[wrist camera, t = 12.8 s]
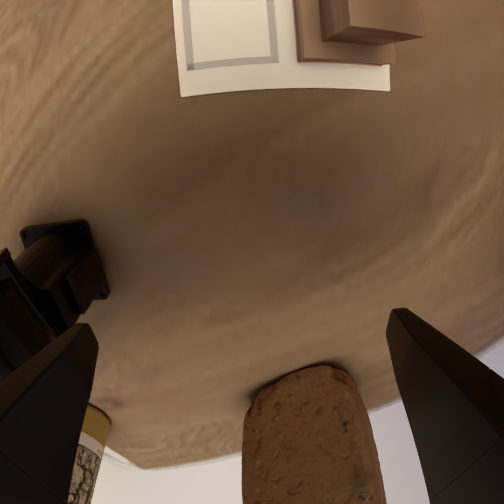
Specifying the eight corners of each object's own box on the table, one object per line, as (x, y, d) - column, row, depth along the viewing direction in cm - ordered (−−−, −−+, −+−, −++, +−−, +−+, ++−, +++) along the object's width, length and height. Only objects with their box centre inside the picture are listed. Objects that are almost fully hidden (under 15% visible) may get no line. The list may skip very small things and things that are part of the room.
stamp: (298, 61, 15) (327, 47, 9) (291, -16, 13) (314, -65, 7) (379, 65, 15) (445, 62, 9) (374, -9, 13) (432, -42, 7)
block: (345, 349, 26) (396, 577, 9) (363, 391, 29) (403, 571, 12) (234, 386, 28) (227, 595, 11) (267, 420, 32) (272, 591, 14)
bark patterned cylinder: (108, 407, 31) (64, 597, 10) (114, 432, 35) (80, 595, 13) (58, 391, 31) (1, 567, 9) (69, 418, 34) (25, 572, 12)
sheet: (181, 97, 16) (180, 97, 16) (172, -26, 12) (170, -28, 12) (388, 91, 16) (390, 91, 16) (379, -28, 12) (381, -29, 12)
